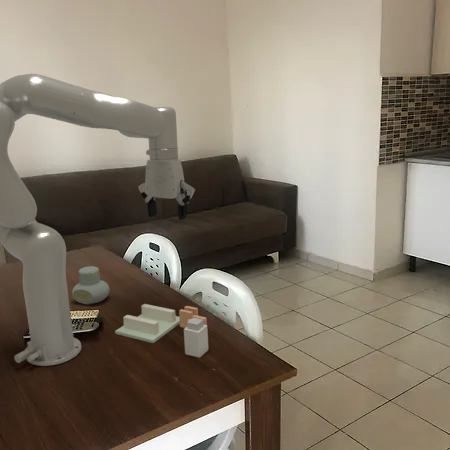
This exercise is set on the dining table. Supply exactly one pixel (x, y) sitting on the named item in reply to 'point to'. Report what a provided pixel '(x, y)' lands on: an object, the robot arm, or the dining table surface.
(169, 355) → the dining table surface
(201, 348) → the block
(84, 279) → the air freshener
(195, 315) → the clips
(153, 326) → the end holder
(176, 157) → the robot arm
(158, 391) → the dining table surface
